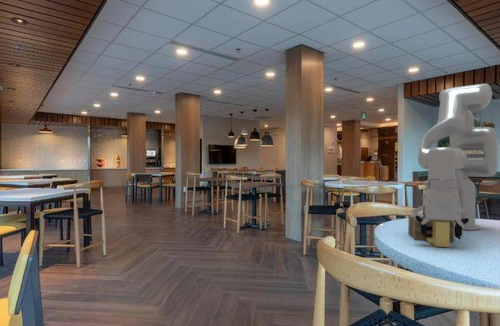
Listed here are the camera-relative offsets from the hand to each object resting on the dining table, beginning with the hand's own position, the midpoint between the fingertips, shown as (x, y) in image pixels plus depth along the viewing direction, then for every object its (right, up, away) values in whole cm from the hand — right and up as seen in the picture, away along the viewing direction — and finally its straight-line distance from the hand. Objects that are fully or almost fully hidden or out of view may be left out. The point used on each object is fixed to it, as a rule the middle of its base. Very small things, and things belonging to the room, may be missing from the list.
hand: (440, 237), depth 100 cm
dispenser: (+3, -3, +12) cm, 12 cm away
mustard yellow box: (+2, -3, +7) cm, 8 cm away
